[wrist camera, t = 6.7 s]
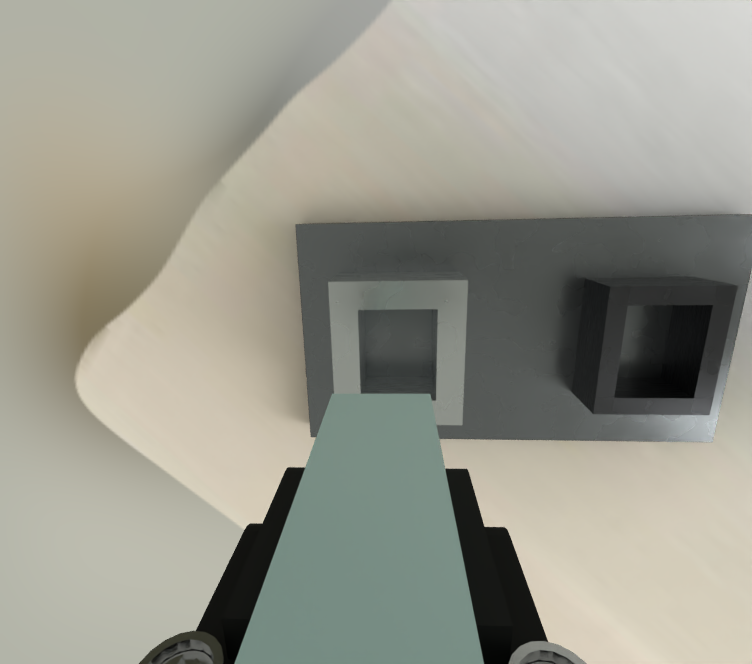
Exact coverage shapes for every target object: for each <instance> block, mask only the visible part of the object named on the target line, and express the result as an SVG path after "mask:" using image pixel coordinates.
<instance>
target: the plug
mask: <svg viewBox="0 0 752 664" xmlns="http://www.w3.org/2000/svg"><path fill="white" fill-rule="evenodd" d="M235 664H484V662H483V657H482V652H481V647H480V642H479V636H478V631H477V626H476V621H475V616H474V611H473V606H472V601H471V596H470V591H469V586H468V581H467V576H466V571H465V566H464V561H463V556H462V551H461V546H460V541H459V536H458V531H457V526H456V521H455V516H454V511H453V506H452V501H451V496H450V491H449V486H448V481H447V475H446V470H445V465H444V460H443V455H442V450H441V445H440V440H439V435H438V430H437V425H436V420H435V415H434V410H433V405H432V400H431V395H430V394H332V395H331V398H330V401H329V404H328V406H327V409H326V412H325V415H324V417H323V420H322V423H321V426H320V429H319V431H318V434H317V437H316V440H315V442H314V445H313V448H312V451H311V453H310V456H309V459H308V462H307V464H306V467H305V470H304V473H303V476H302V478H301V481H300V484H299V487H298V489H297V492H296V495H295V498H294V500H293V503H292V506H291V509H290V512H289V514H288V517H287V520H286V523H285V525H284V528H283V531H282V534H281V536H280V539H279V542H278V545H277V547H276V550H275V553H274V556H273V559H272V561H271V564H270V567H269V570H268V572H267V575H266V578H265V581H264V583H263V586H262V589H261V592H260V594H259V597H258V600H257V603H256V606H255V608H254V611H253V614H252V617H251V619H250V622H249V625H248V628H247V630H246V633H245V636H244V639H243V641H242V644H241V647H240V650H239V653H238V655H237V658H236V661H235Z"/></svg>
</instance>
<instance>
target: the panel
mask: <svg viewBox="0 0 752 664" xmlns="http://www.w3.org/2000/svg"><path fill="white" fill-rule="evenodd" d="M296 237H297V251H298V265H299V279H300V293H301V307H302V321H303V335H304V349H305V362H306V376H307V390H308V404H309V418H310V432H311V437H317V434H318V431H319V429H320V426H321V423H322V420H323V417H324V415H325V412H326V409H327V406H328V404H329V401H330V398H331V395H332V394H430V395H431V400H432V405H433V410H434V415H435V420H436V425H437V430H438V435H439V439H502V440H580V441H658V442H713V438H714V434H715V429H716V425H717V420H718V416H719V411H720V407H721V402H722V398H723V394H724V389H725V385H726V380H727V376H728V371H729V367H730V362H731V358H732V354H733V349H734V345H735V340H736V336H737V331H738V327H739V322H740V318H741V314H742V309H743V305H744V300H745V296H746V291H747V287H748V282H749V278H750V274H751V269H752V214H740V215H694V216H648V217H602V218H556V219H510V220H464V221H418V222H372V223H327V224H296Z"/></svg>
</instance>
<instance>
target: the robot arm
mask: <svg viewBox="0 0 752 664" xmlns="http://www.w3.org/2000/svg"><path fill="white" fill-rule="evenodd" d="M304 470H305V468H294V467H288V468H287V469H286V471H285V473H284V475H283V478H282V480H281V482H280V485H279V487H278V489H277V492H276V494H275V496H274V499H273V501H272V503H271V505H270V508H269V510H268V512H267V515H266V517H265V519H264V522H263V524H251V523H250V524H249V525H248V526H247V527H246V529H245V530H244V532H243V534H242V536H241V538H240V541H239V543H238V545H237V547H236V549H235V551H234V553H233V555H232V557H231V559H230V561H229V563H228V565H227V567H226V570H225V572H224V574H223V576H222V578H221V580H220V582H219V584H218V586H217V588H216V590H215V592H214V594H213V596H212V599H211V601H210V603H209V605H208V607H207V609H206V611H205V613H204V615H203V617H202V619H201V621H200V624H199V626H198V627H197V630H196V631H190V632H185V633H180V634H178V635H175V636H174V637H171V638H169V639H167V640H165V641H164V642H162V643H161V644H159V645H158V646H157V647H155V648H154V649H152V650H151V651H150V652H149V653H148V654H147V655H146V656H145V658H144V659H143V660H142V661H141V662H140V663H139V664H235V661H236V658H237V655H238V653H239V650H240V647H241V644H242V641H243V639H244V636H245V633H246V630H247V628H248V625H249V622H250V619H251V617H252V614H253V611H254V608H255V606H256V603H257V600H258V597H259V594H260V592H261V589H262V586H263V583H264V581H265V578H266V575H267V572H268V570H269V567H270V564H271V561H272V559H273V556H274V553H275V550H276V547H277V545H278V542H279V539H280V536H281V534H282V531H283V528H284V525H285V523H286V520H287V517H288V514H289V512H290V509H291V506H292V503H293V500H294V498H295V495H296V492H297V489H298V487H299V484H300V481H301V478H302V476H303V473H304ZM445 470H446V475H447V481H448V486H449V491H450V496H451V501H452V506H453V511H454V516H455V521H456V526H457V531H458V536H459V541H460V546H461V551H462V556H463V561H464V566H465V571H466V576H467V581H468V586H469V591H470V596H471V601H472V606H473V611H474V616H475V621H476V626H477V631H478V636H479V642H480V647H481V652H482V657H483V662H484V664H587V663H585V662H584V661H583V660H582V659H580V658H579V657H578V656H577V655H576V654H574V653H573V652H571V651H570V650H568V649H566V648H564V647H562V646H560V645H558V644H554V643H550V642H548V640H547V638H546V635H545V632H544V629H543V627H542V624H541V621H540V618H539V615H538V613H537V610H536V607H535V604H534V601H533V599H532V596H531V593H530V590H529V588H528V585H527V582H526V579H525V576H524V574H523V571H522V568H521V565H520V563H519V560H518V557H517V554H516V551H515V549H514V546H513V543H512V540H511V538H510V535H509V533H508V530H507V529H506V528H505V527H484V524H483V520H482V517H481V513H480V510H479V506H478V503H477V500H476V496H475V493H474V489H473V486H472V482H471V479H470V475H469V472H468V470H467V469H445Z"/></svg>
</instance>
